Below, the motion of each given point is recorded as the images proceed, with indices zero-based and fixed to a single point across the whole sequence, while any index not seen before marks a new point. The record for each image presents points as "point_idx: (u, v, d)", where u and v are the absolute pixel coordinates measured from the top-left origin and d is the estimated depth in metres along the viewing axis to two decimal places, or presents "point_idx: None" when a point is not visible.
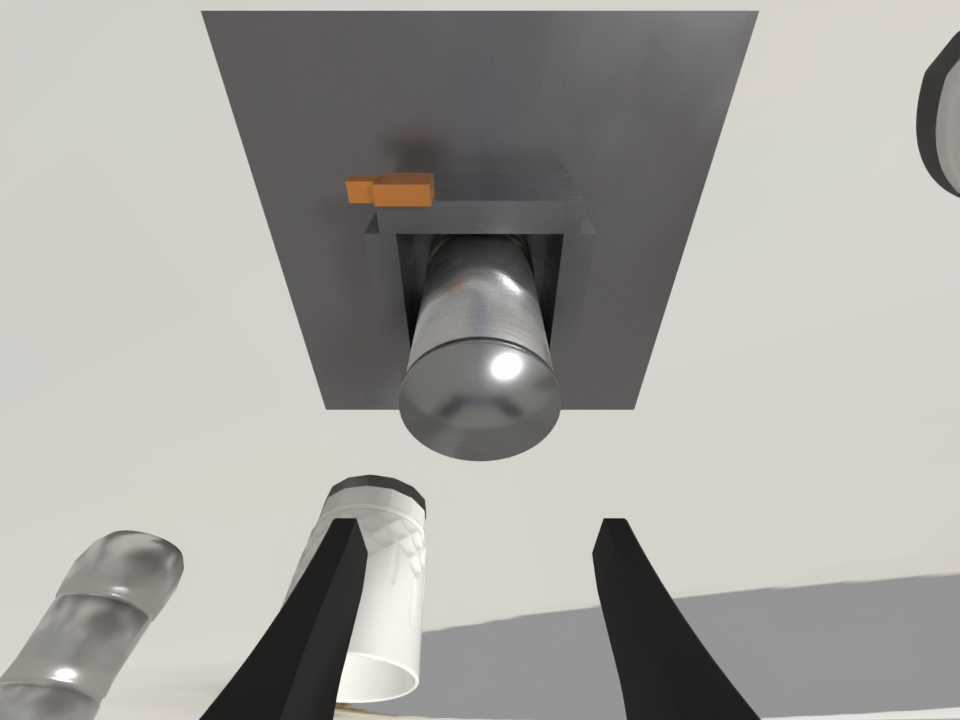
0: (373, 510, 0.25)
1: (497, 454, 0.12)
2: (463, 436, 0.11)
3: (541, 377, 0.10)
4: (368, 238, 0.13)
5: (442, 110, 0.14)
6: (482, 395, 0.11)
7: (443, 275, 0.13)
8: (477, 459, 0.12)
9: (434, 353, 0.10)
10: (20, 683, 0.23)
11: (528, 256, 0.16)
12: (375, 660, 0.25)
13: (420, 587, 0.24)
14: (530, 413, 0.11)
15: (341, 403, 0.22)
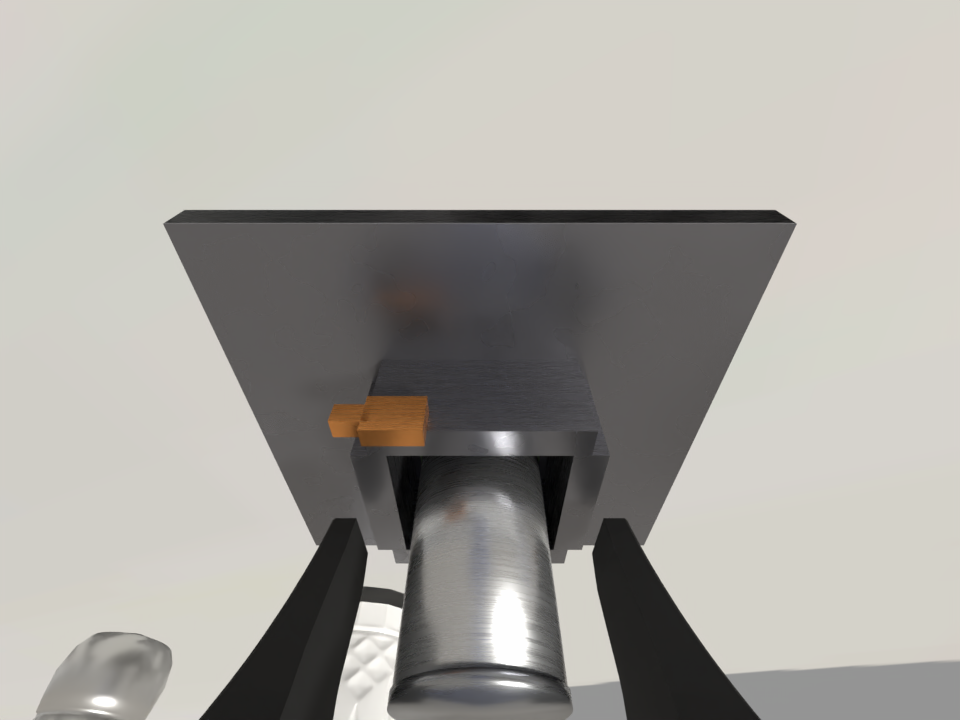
0: (367, 634, 0.24)
1: None
2: None
3: (550, 699, 0.09)
4: (355, 459, 0.12)
5: (438, 308, 0.12)
6: (482, 704, 0.09)
7: (439, 505, 0.12)
8: None
9: (427, 683, 0.08)
10: None
11: None
12: None
13: None
14: (537, 714, 0.10)
15: None
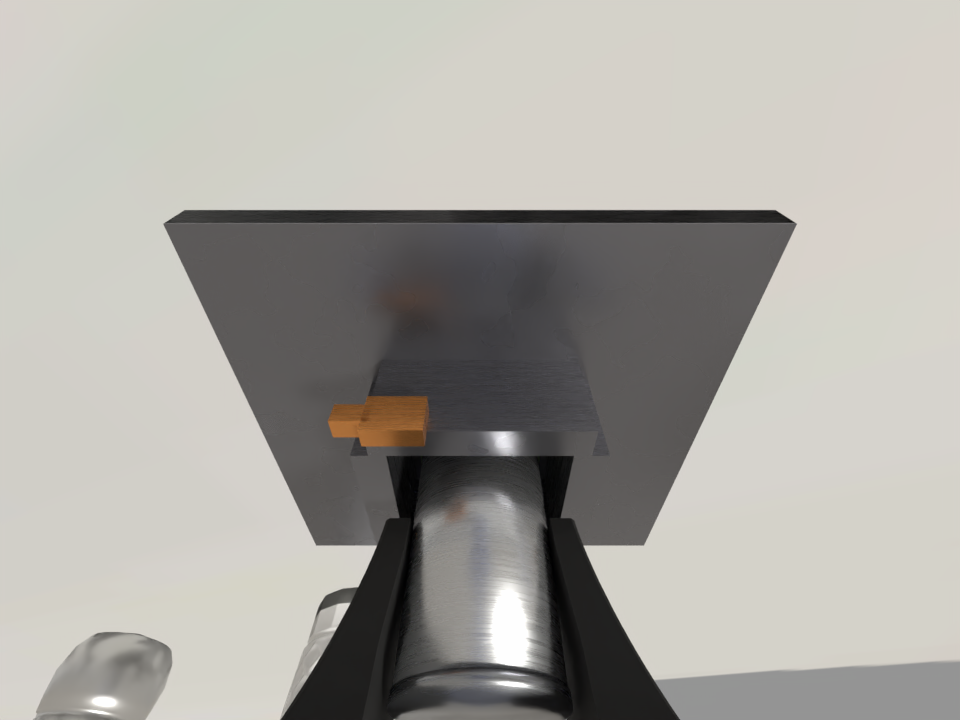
0: None
1: None
2: None
3: (551, 699, 0.09)
4: (355, 459, 0.12)
5: (438, 308, 0.12)
6: (482, 704, 0.09)
7: (439, 506, 0.12)
8: None
9: (427, 684, 0.08)
10: None
11: None
12: None
13: None
14: (537, 714, 0.10)
15: (332, 540, 0.20)
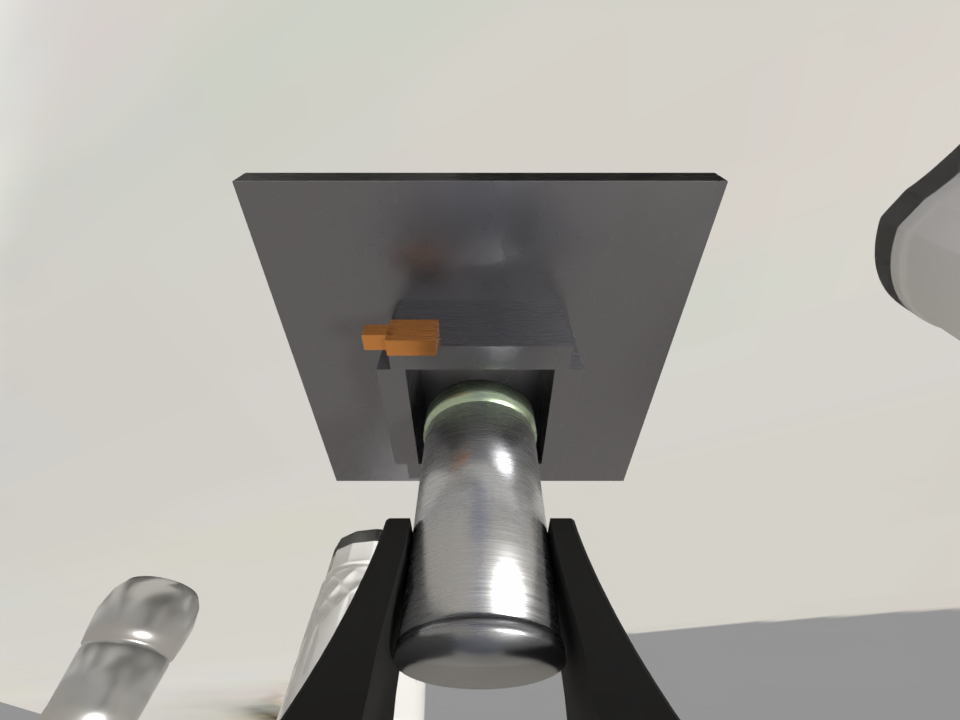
0: None
1: (499, 685, 0.11)
2: (462, 677, 0.11)
3: (545, 648, 0.09)
4: (380, 372, 0.15)
5: (446, 253, 0.15)
6: (482, 655, 0.10)
7: (441, 478, 0.12)
8: (477, 686, 0.11)
9: (431, 632, 0.09)
10: None
11: (530, 421, 0.15)
12: None
13: None
14: (533, 665, 0.10)
15: (351, 475, 0.23)
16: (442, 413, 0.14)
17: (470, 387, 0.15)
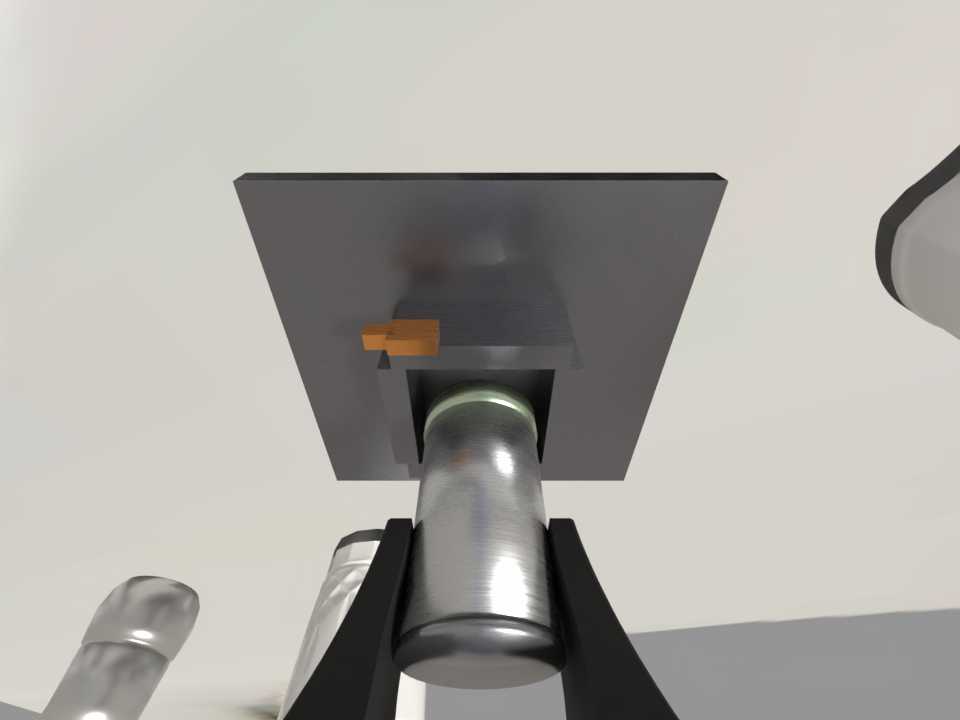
0: None
1: (499, 685, 0.11)
2: (463, 676, 0.11)
3: (546, 648, 0.09)
4: (380, 372, 0.15)
5: (447, 253, 0.15)
6: (482, 655, 0.10)
7: (442, 478, 0.12)
8: (478, 686, 0.11)
9: (431, 632, 0.09)
10: None
11: (531, 421, 0.15)
12: None
13: None
14: (534, 665, 0.10)
15: (351, 475, 0.23)
16: (442, 413, 0.14)
17: (471, 387, 0.15)
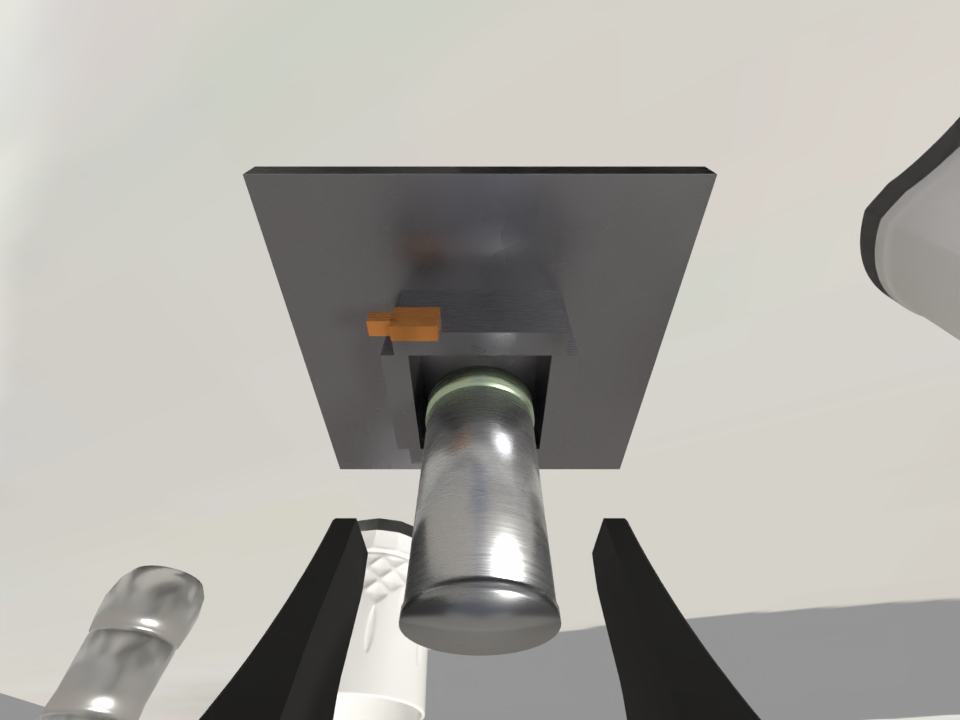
0: (382, 554, 0.27)
1: (497, 651, 0.12)
2: (463, 641, 0.11)
3: (541, 610, 0.10)
4: (384, 358, 0.15)
5: (447, 244, 0.16)
6: (482, 618, 0.11)
7: (443, 456, 0.13)
8: (477, 652, 0.12)
9: (434, 594, 0.10)
10: (63, 713, 0.25)
11: (528, 405, 0.16)
12: None
13: None
14: (530, 629, 0.11)
15: (354, 464, 0.24)
16: (443, 397, 0.15)
17: (471, 373, 0.15)
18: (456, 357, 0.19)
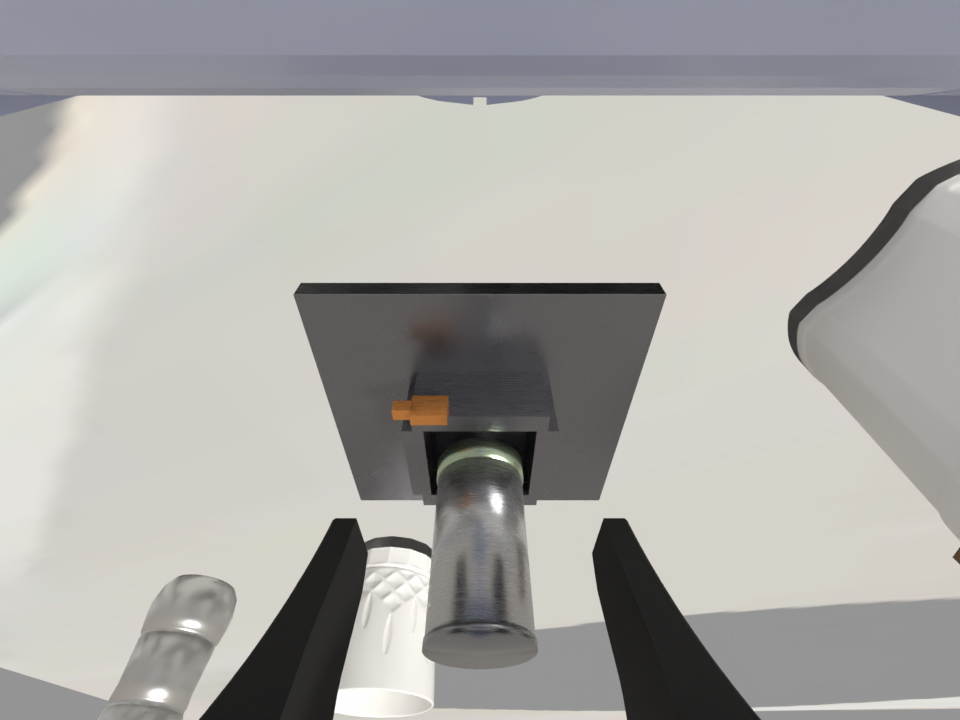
0: (396, 569, 0.32)
1: (493, 666, 0.16)
2: (468, 660, 0.16)
3: (523, 642, 0.14)
4: (404, 433, 0.19)
5: (454, 340, 0.20)
6: (481, 646, 0.15)
7: (452, 520, 0.17)
8: (478, 667, 0.16)
9: (447, 632, 0.14)
10: (127, 703, 0.30)
11: (518, 469, 0.20)
12: None
13: None
14: (516, 653, 0.15)
15: (373, 496, 0.28)
16: (451, 465, 0.19)
17: (473, 444, 0.20)
18: None
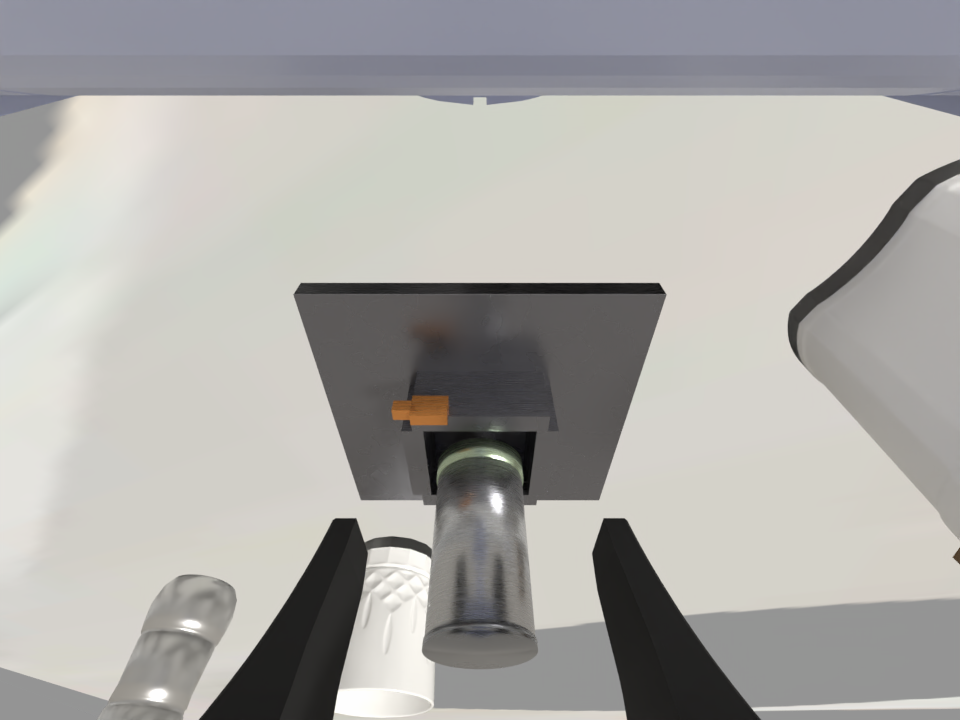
0: (396, 569, 0.32)
1: (493, 666, 0.16)
2: (468, 660, 0.16)
3: (523, 642, 0.14)
4: (404, 433, 0.19)
5: (454, 340, 0.20)
6: (481, 646, 0.15)
7: (452, 520, 0.17)
8: (478, 667, 0.16)
9: (447, 632, 0.14)
10: (127, 703, 0.30)
11: (518, 469, 0.20)
12: None
13: None
14: (516, 653, 0.15)
15: (373, 496, 0.28)
16: (451, 465, 0.19)
17: (473, 444, 0.20)
18: None
